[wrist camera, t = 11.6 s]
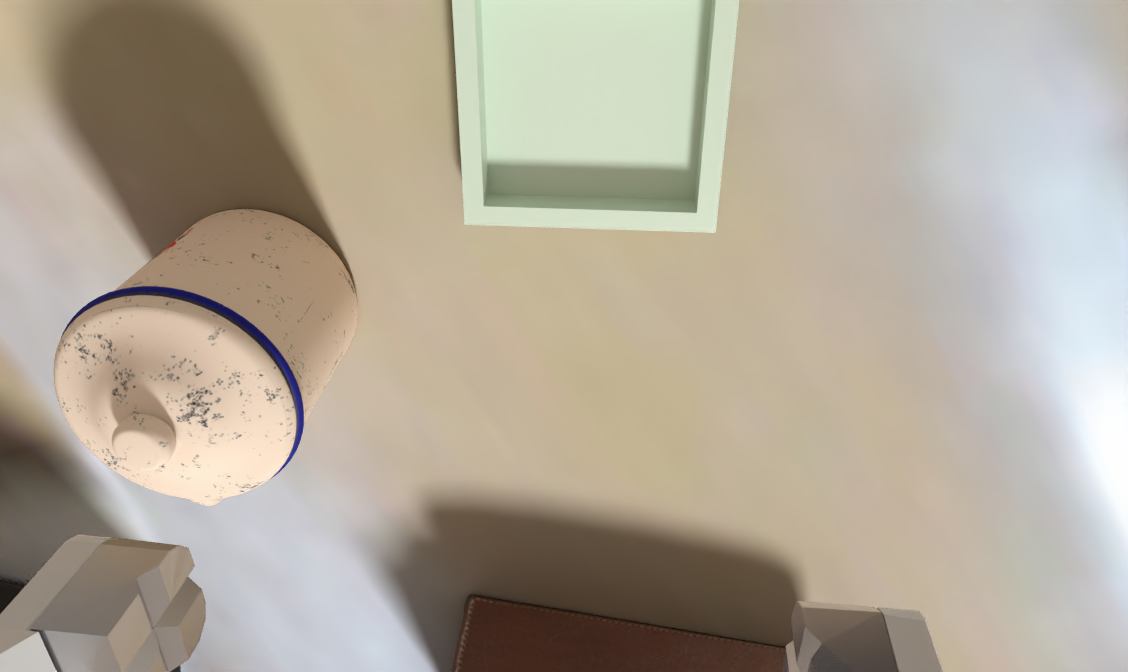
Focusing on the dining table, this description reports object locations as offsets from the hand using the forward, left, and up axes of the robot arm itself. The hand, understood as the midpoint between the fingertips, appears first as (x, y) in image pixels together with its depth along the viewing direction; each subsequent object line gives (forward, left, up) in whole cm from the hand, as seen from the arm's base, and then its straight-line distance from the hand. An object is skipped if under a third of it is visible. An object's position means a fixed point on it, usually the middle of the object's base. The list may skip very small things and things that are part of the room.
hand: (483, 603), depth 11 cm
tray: (0, -1, -25) cm, 25 cm away
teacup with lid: (+15, +10, -26) cm, 31 cm away
